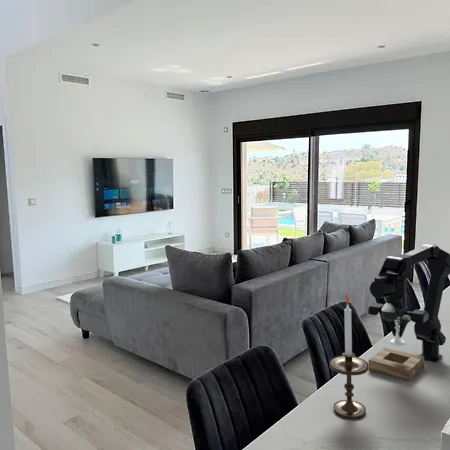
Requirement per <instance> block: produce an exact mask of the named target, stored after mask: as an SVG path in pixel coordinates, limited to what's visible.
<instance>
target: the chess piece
mask: <svg viewBox="0 0 450 450" xmlns="http://www.w3.org/2000/svg"><path fill="white" fill-rule="evenodd" d="M400 319H401V317H398V319H397V320H395V321H394V322H395V325H396V327H394V328H395V329H396V334H395V336H394V338H392V339H391V340H389V341H390V342H389V344H390V345H392V346H393V347H394V346H395V347H403V346H405V345H406V341H405V340H404V339H402V337H401V338H400V336H399V330H400V322H399V320H400Z"/></svg>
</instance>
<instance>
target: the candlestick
mask: <svg viewBox="0 0 450 450" xmlns="http://www.w3.org/2000/svg"><path fill="white" fill-rule="evenodd" d="M345 298H346V299H345V300H346V303H345V304H346V306H345V308H344V352H342V353H341V355H339V356H335V357H333V358H331V359H330V360H329V369H330V370H331V371H333V372H334V373H337V374H340V375H345V376H346V383H344V385H343V387H344V389H345V390H346V392H345V393H344V395H345V396H346V399H342V400H338V401H337V402H335V403H334V404H333V412H334V413H335V414H336V415H337V416H338V417H341V418H342V419H347V420H359V419H362V418H364V417H365V416H366V413H367V412H366V411H367V409H366V407H365V405H364V404H362V403H361V402H358V401H356V400H353V397H354V392H353V390H354V389H355V385H354V384H353V383H352V376H359V375H363V374H366V373H368V371H369V362H368V361H366V360H365V359H363V358H361V357H359V356H357V354H356V353H354V352H353V334H352V330H353V329H352V328H353V327H352V309H351V308H350V305H349V303H350V299H349V297H348V293H345Z"/></svg>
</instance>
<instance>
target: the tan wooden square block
mask: <svg viewBox="0 0 450 450" xmlns="http://www.w3.org/2000/svg"><path fill="white" fill-rule="evenodd" d="M367 362H368V371H369V372H373V373H375V372H376V374H380V375H382V374H383V375H384V376H386V375H387V376H386V377H390V378H393V377H394V379H397V380H400V379H401V381H404V382H408V383H410V382H412V381H413V379H414V378H415V377H416V376H417V375H418V374H419V373H420V372H421V371H422V370H423V369H424V368H425V359H424V356H420V354H414V353H411V352H406V351H403V350H399V349H394V348H391V347H387V346H385V347H383V348H381V349H380V350H379V351H378V352H377V353H375V354H374V355H372V357H370V358H368V361H367ZM383 375H382V376H383Z"/></svg>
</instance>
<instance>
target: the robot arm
mask: <svg viewBox="0 0 450 450" xmlns="http://www.w3.org/2000/svg"><path fill="white" fill-rule="evenodd" d="M423 261H426V262H427V269H428V272H429V275H430V277H429V283H428V287H427V288H428V289H427V291H426V297H425V302H424V307H423V309H414V310H413V311H407V309H408V306H407V298H408V294H407V283H406V282H407V280H409V279H410V277H411V276H409V274H408V273H409V272H410V271H411V270H412V268H413V266H415V265H416V264H419V263H421V262H423ZM449 275H450V253H449V252H447V251H445V250H443V249H441V248H440V247H439V246H437V245H436V244H428V243H426V244H425V243H424V244H422V245H421V246H419V247H417V248H415V249H412V250H410V251H408V252H406V253H403V254H392V255H388V256H387V257H385V260H384V261H383V264H382V266H381V269H380V271H379V273H378V277H377V276H376V277H374V281H372V282H371V284H370V285H369V293H370V294H371V295H372V297H374V298H375V299H382V298H386V301H385V303H379V302H378V303H377V302H374V303H372V304H371V305H370V306H368V308H367V314H368V315H371V316H378V314H379V313H381V319H383V320H385V321H386V322H387V324H388V326H389V328H390V331H391V334H392V337H395V334H396V329H395V328H394V327H396V325H395V322H394V321H395V320H397V319H398V317H400V319H398V320H399V322H400V325H399V327H400V329H399V336H400V338H401V339H402V337H403V335H404V332H405V330H406V328H407V326H408V324H409V323H410V322H411V321H412V323H414V325H413V328H414V329H413V331H414V334H415V338H416V340H419V341H421V353H420V354H419V355H420V356H424V360H427V361H432V362H437V363H438V362H439V361H440V359H442V357H443V355H442V354H440V346H444V344H445V343H446V340H447V337H446V336H445V334H444V333H443V332H442V331H441V330H442V329H441V328H442V325H441V321H440V318H439V313H440V308H441V307H440V306H441V301H442V297H443V292H444V287H445V281H446V278H447V277H449Z"/></svg>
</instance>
